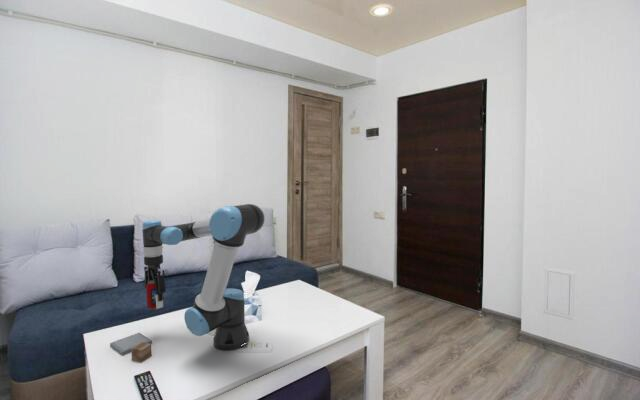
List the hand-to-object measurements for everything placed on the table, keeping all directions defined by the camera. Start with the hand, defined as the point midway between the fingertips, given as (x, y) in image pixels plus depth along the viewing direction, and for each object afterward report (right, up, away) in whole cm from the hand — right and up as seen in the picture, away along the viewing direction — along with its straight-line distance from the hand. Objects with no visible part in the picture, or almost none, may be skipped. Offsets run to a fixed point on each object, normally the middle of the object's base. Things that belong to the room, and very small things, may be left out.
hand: (155, 305), depth 149 cm
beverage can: (0, -1, 0) cm, 1 cm away
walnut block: (+2, -16, -16) cm, 22 cm away
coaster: (-8, -15, -6) cm, 18 cm away
